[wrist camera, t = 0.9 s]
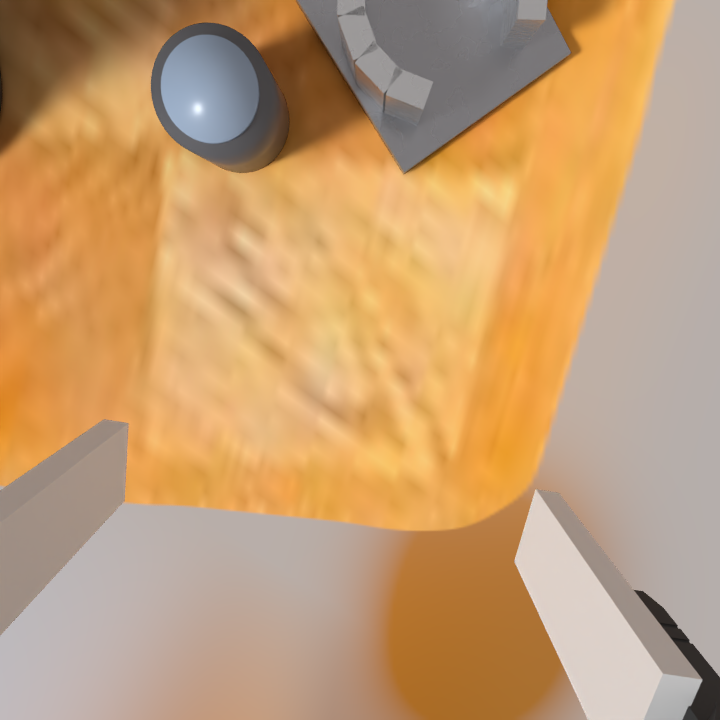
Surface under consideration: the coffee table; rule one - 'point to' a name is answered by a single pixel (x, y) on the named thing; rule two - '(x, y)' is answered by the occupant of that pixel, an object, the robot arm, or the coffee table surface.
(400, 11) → the grey square base
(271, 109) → the grey cylinder
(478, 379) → the coffee table surface
